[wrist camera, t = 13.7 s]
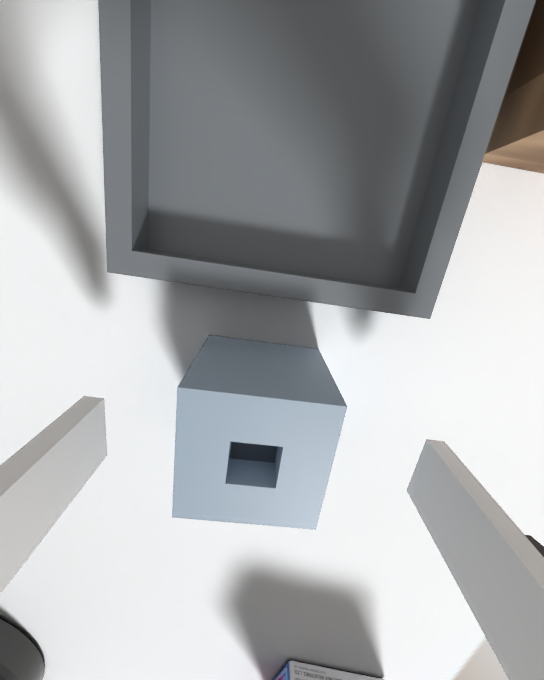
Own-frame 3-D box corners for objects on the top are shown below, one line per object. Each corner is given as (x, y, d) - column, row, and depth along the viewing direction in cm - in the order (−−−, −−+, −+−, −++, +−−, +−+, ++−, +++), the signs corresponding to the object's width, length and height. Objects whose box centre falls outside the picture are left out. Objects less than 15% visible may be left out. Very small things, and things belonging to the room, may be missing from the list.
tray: (133, 267, 14) (107, 272, 12) (131, -149, 10) (89, -272, 7) (404, 307, 15) (430, 318, 13) (513, -57, 11) (583, -142, 8)
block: (202, 428, 17) (172, 517, 12) (209, 334, 16) (177, 387, 10) (299, 438, 18) (315, 529, 12) (318, 348, 16) (347, 406, 10)
